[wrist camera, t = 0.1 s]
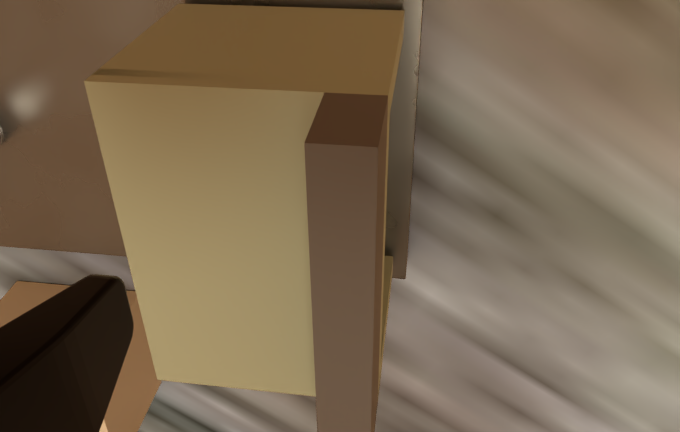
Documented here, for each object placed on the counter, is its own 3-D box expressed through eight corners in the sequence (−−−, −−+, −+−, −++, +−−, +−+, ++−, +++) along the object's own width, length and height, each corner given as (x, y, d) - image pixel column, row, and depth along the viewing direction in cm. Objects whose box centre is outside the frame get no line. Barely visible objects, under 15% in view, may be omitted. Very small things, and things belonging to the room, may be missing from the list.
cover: (392, 272, 25) (369, 472, 18) (216, 258, 26) (126, 443, 18) (404, 10, 19) (378, 147, 12) (178, 3, 20) (27, 127, 13)
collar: (161, 381, 33) (120, 468, 28) (50, 370, 33) (-5, 452, 29) (139, 291, 29) (89, 374, 25) (17, 280, 30) (-52, 359, 26)
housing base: (407, 260, 26) (400, 337, 23) (-51, 224, 29) (-123, 288, 25) (424, -20, 20) (418, 24, 16) (-161, -35, 22) (-278, 0, 19)
